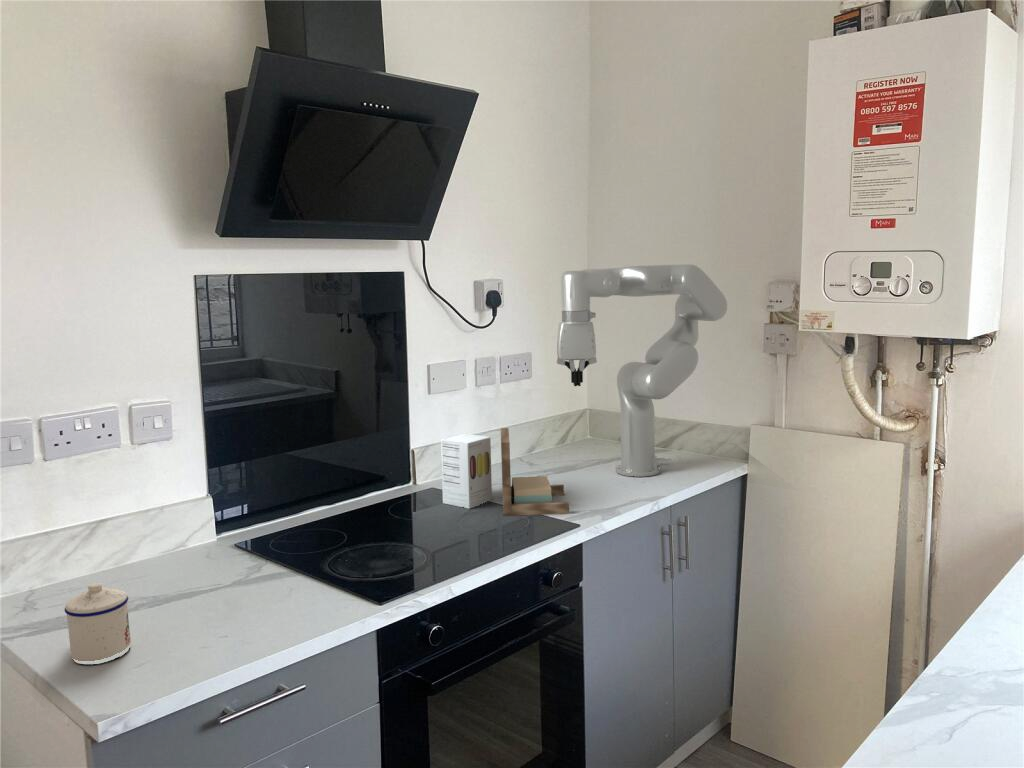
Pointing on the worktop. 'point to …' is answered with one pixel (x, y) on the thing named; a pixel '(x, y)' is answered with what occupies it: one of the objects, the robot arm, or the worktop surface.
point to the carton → (531, 490)
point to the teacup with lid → (98, 623)
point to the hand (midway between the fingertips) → (577, 385)
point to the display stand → (507, 489)
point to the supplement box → (466, 470)
